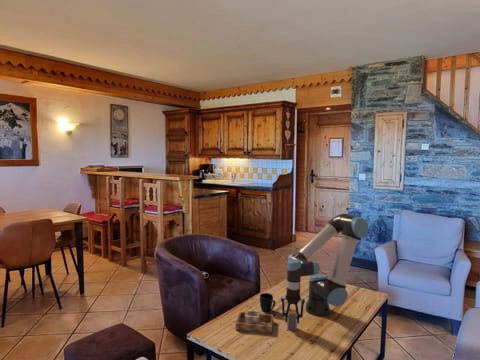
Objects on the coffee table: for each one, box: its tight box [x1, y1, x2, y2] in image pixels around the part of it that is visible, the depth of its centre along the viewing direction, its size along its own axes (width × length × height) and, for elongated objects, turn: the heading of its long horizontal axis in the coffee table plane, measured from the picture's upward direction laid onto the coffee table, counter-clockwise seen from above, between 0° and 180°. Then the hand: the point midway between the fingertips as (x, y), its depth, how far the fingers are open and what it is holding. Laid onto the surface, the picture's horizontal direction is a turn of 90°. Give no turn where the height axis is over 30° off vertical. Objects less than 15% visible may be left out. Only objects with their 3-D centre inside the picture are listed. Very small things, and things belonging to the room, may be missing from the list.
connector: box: [287, 307, 297, 332], centre depth 184 cm, size 4×4×11 cm
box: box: [235, 309, 274, 335], centre depth 186 cm, size 20×14×7 cm
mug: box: [259, 292, 276, 313], centre depth 204 cm, size 8×12×10 cm
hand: (291, 327), depth 184 cm, fingers closed on connector, 4 cm apart
